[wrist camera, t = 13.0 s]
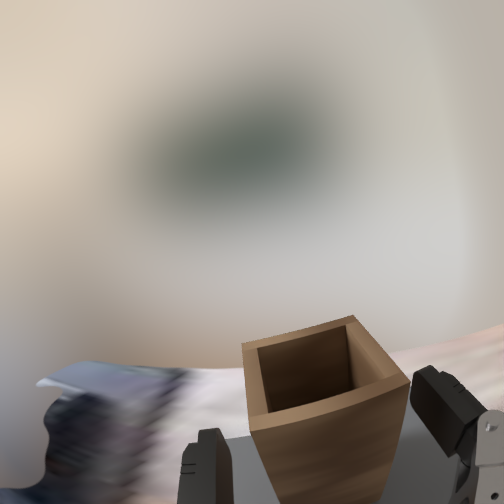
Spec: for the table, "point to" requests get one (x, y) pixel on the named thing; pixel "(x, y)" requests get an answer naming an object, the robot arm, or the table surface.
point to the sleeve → (325, 412)
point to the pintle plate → (399, 480)
